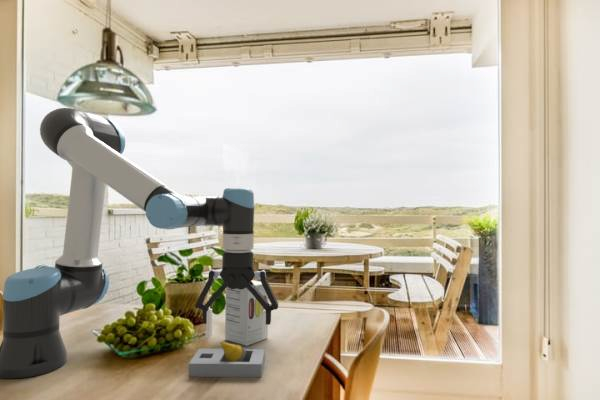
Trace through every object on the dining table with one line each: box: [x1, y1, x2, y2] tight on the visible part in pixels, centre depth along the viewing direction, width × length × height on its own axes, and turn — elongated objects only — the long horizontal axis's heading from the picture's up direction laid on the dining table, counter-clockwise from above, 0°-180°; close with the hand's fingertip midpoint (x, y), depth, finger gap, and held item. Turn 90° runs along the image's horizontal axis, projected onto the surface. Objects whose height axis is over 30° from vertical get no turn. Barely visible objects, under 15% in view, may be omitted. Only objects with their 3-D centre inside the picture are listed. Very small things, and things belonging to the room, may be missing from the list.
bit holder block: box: [188, 348, 266, 378], centre depth 101 cm, size 17×10×3 cm, turn 90°
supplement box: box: [224, 279, 269, 347], centre depth 123 cm, size 10×9×17 cm
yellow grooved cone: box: [220, 341, 247, 362], centre depth 101 cm, size 5×5×10 cm
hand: (236, 337), depth 101 cm, fingers open, 13 cm apart
